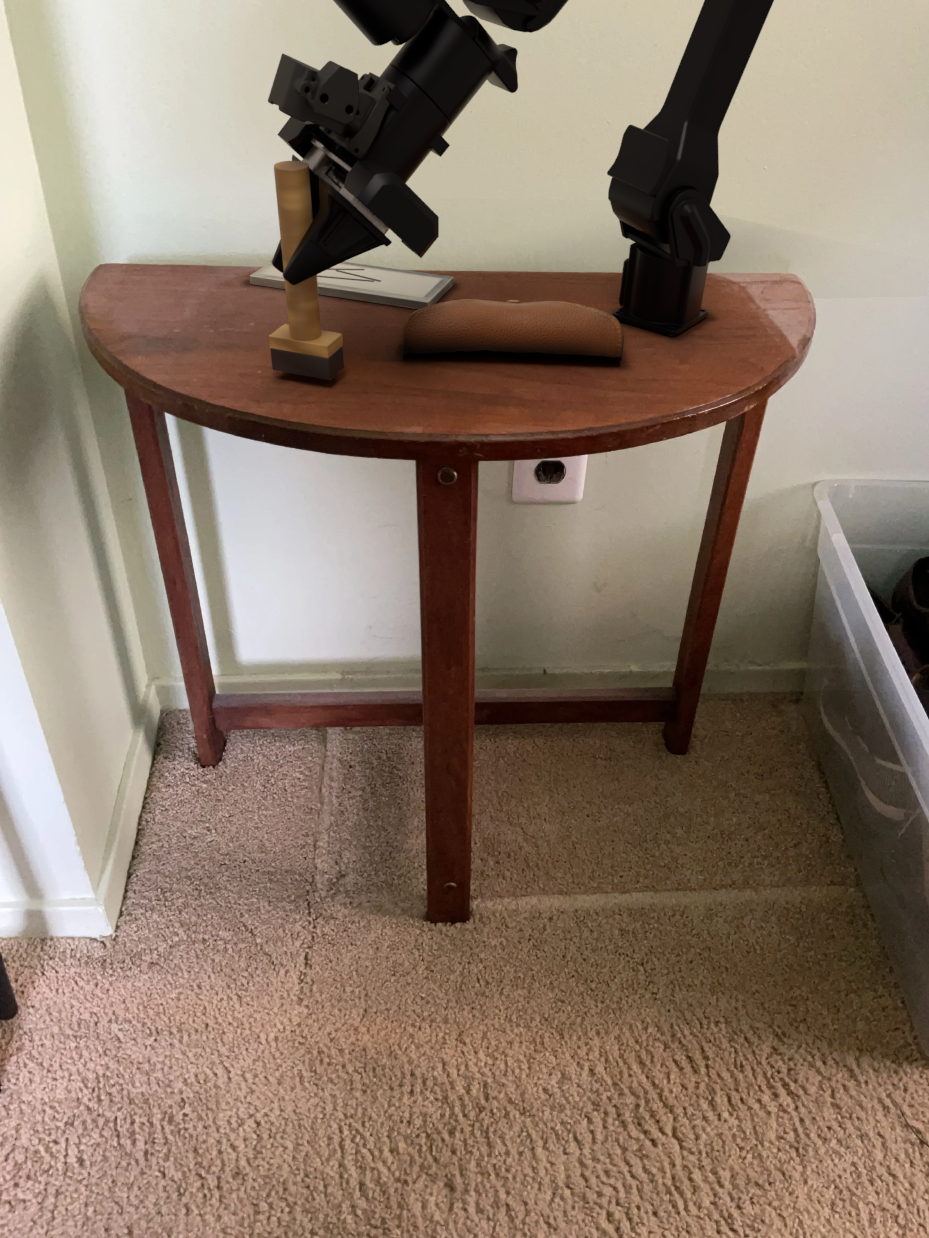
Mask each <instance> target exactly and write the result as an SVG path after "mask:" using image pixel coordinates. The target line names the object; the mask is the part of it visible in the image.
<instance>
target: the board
mask: <svg viewBox="0 0 929 1238" xmlns="http://www.w3.org/2000/svg"><path fill="white" fill-rule="evenodd" d="M249 281H250V285H256V286H264V287H269V288H276V289H283V290H285V280H284V277H283V273H281V272H280V271H279V270H277V269H276V268H275V267H274V266H273V265H272V260H270V261H269V262H268V263H267V264H265V265H263V266H262V267H261V268H259V269H258V270H256V271H255V272H253V273H251V274H250V275H249ZM317 283H318V295H322V296H328V297H334V298H335V297H336V298H340V299H341V298H342V299H349V300H355V301H362V302H367V303H368V302H369V303H375V304H380V305H388V306H394V307H401V308H409V309H415V310H418V309H421V308H425V307H428V306H431V305H434V304H437V302H438V301H439V300H440V299H441V298H443V296H444V295H445V294H446V293H447V292H449V290H450V289H451V288H452V287H453V286H454V276H451V275H441V274H436V273H427V272H420V271H414V270H407V269H406V270H405V269H399V268H393V267H386V266H385V267H384V266H378V265H371V264H365V263H358V262H351V261H344V262H342V263H340V264H337V265H335V266H333V267H331V268H329V269H327V270H325V271H323V272H321V273H319V274H317Z"/></svg>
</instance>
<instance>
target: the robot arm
mask: <svg viewBox="0 0 929 1238" xmlns="http://www.w3.org/2000/svg"><path fill="white" fill-rule="evenodd" d="M332 1H333V3H335V5H336V6H337V7H338V8H339V9H340V10H341V11H342V12H343V13H344V15H345V16H346V17H347V18H348V19H349V20H350V21H351V23H352V24H354V26H355V27H356V28H357V29H358V31H360V32H361V34H362V35H363V36H364V37H365V38H366V39H367V40H368V42H370V43H371V45H373V46H374V47H378V46H379V47H380V46H384V45H386V44H389V43H390V42H391V44H392V45H394V46H397V47H398V46H401V45H402V46H401V48H400V49H399V51H398V52H397V53H396V54H395V56H394V57H393V58H392V59H391V61H390V62H389V64H388V65H387V66H386V68H385V69H384V70H383V72H382V73H381V74H380V75H377V74H374V73H373V72H369V73H364V74H362V75H361V76H360V78H359V74H358V73H357V72H355V71H354V70H351V69H350V68H347V67H345V66H343V65H340V64H338V63H336V62H335V61H332V60H328V61H327V62H326V63H325V64H324V65H323V66H322V67H321V68H320V69H318V68H316V67H314V66H311V65H309V64H307V63H305V62H303V61H301V60H298V59H296V58H295V57H292V56H290V55H288V54H285V53H281V56H280V59H279V62H278V64H277V65H278V66H277V68H276V73H275V75H274V79H273V82H272V85H271V89H270V92H269V95H268V97H267V103H268V104H270V105H275V106H277V107H278V110H279V111H280V112H281V113H283V114H285V115H286V116H289V118H288V120H287V121H286V122H285V124H284V125H283V126H282V127H281V129H280V130H279V132H278V133H277V136H278V137H279V138H280V139H281V140H282V141H283V142H284V143H285V144H286V145H288V146H289V147H290V149H292V150H293V151H294V152H295V153H296V154H297V155H298V156H299V157H300V158H301V159H302V160H301V159H299V158H298V157H297V156H296V155H295V154H292V155H291V161H301V162H305V163H307V164H308V165H309V175H310V188H311V202H312V216H313V221H312V223H311V225H310V226H309V228H308V230H307V232H306V233H305V235H304V237H303V238H302V240H301V242H300V243H299V245H298V247H297V248H296V250H295V252H294V253H293V255H292V257H291V259H290V261H289V262H288V264H287V266H286V268H285V270H283V259H282V248H281V238H279V242H278V244H277V246H276V249H275V252H274V255H273V258H272V260H271V261H272V265H273V266H274V267H275V268H276V269H277V270H279V271H280V272H281V273H283V277H284V279H285V280H287V281H288V282H289V283H290V284H292V285H296V284H298V283H300V282H303V281H305V280H307V279H309V278H311V277H313V276H315V275H317V274H319V273H321V272H323V271H325V270H327V269H329V268H331V267H333V266H335V265H337V264H340V263H342V262H347V260H350V259H353V258H355V257H358V256H360V255H362V254H364V253H367V252H369V251H371V250H374V249H377V248H378V247H382V246H385V247H387V248H388V247H389V246H390V245H391V244H392V243H393V241H392V240H391V239H390V238H389V237H387V236H386V234H387V232H388V231H389V230H390V231H391V232H392V233H393V234H394V235H396V236H397V237H398V238H399V239H400V242H401V243H402V244H403V245H404V246H405V247H406V248H407V249H409V250H410V251H412V252H413V253H414V254H415V255H416V256H417V257H419V258H420V259H422V258H423V257H424V255H425V254H426V253H427V252H428V250H429V249H430V248H431V247H432V246H433V244H434V243H435V242H436V241H437V240H438V238H439V236H440V235H439V234H440V232H439V230H440V228H439V225H440V223H439V222H440V219H439V218H440V217H439V216H438V215H437V214H436V213H435V211H433V210H432V209H431V207H430V206H428V204H427V203H426V202H425V201H423V199H422V198H421V197H419V195H418V194H417V193H416V192H415V191H414V190H413V189H412V188H411V187H410V186H409V185H408V184H407V183H408V181H409V180H410V179H411V177H412V176H413V175H414V173H415V172H416V171H417V170H418V169H419V167H420V166H421V165H422V163H423V162H424V161H425V160H426V158H427V157H428V156H429V154H430V153H431V152H432V153H433V154H435V155H436V156H438V157H440V158H441V157H442V156H443V155H444V153H446V151H447V150H448V149H449V147H450V146H451V144H450V143H449V142H447V140H446V139H445V138H444V137H443V136H444V135H445V134H446V133H447V131H448V130H449V129H450V128H451V126H452V125H453V123H454V122H455V121H456V120H457V119H458V117H459V116H460V115H461V113H462V112H463V111H464V110H465V108H466V107H467V106H468V104H469V103H471V101H472V99H473V98H474V97H475V96H476V94H477V93H478V91H479V90H480V89H481V88H482V87H483V85H484V84H485V83H486V81H488V83H489V84H490V85H492V86H495V87H497V88H499V89H500V90H504V91H505V92H508V93H511V94H514V93H516V92H517V91H518V90H519V89H518V88H519V81H518V79H519V78H518V77H519V76H518V70H517V69H518V68H517V58H518V54H519V51H518V49H517V48H516V47H513V46H511V45H508V44H505V43H499V44H497V43H496V41H495V40H494V39H493V38H492V36H491V35H490V34H489V33H488V31H487V30H486V29H485V27H484V26H483V25H482V24H481V22H480V20H481V21H484V22H488V23H491V24H494V25H496V26H500V27H503V28H505V29H509V30H512V31H515V32H521V33H531V34H532V33H534V32H538V31H540V30H541V29H543V28H545V27H546V26H548V25H549V24H551V22H552V21H553V20H554V19H555V18H556V17H557V16H558V15H559V13H560V12H561V10H562V9H563V8H564V7H565V5H567V3H568V2H569V0H462V3H463V5H464V6H465V7H466V8H467V9H468V10H467V11H469V12H470V13H471V14H472V15H470V14H465V15H462V16H459V15H458V14H457V12H456V11H455V10H454V9H453V8H452V6H451V5H450V4H449V2H447V0H332ZM774 2H775V0H704V1H703V2H702V6H701V8H700V10H699V13H698V17H697V19H696V21H695V23H694V26H693V29H692V32H691V34H690V36H689V38H688V42H687V44H686V47H685V48H684V52H683V53H682V57H681V59H680V61H679V65H678V66H677V68H676V71H675V74H674V77H673V79H672V82H671V85H670V87H669V90H668V92H667V95H666V97H665V100H664V102H663V105H662V107H661V109H660V110H659V112H658V113H657V114H656V115H655V116H654V117H652V119H651V120H650V121H649V122H648V123H647V124H646V125H645V127H643V128H641V127H638V126H636V125H634V124H628V125H627V127H626V129H625V130H624V132H623V134H622V138H621V142H620V146H619V151H618V153H617V155H616V158H615V160H614V162H613V164H611V166H610V168H609V169H608V170H607V172H606V174H607V176H608V177H611V179H610V183H609V187H608V191H607V192H608V193H607V194H608V195H607V196H608V197H607V199H608V201H609V203H610V207H611V210H612V213H613V214H614V215H615V216H616V218H617V219H618V221H619V226H620V232H621V237H623V238H625V239H628V240H630V241H631V242H632V243H630V245H629V252H628V258H626V259H624V260H623V262H622V263H623V264H622V272H621V280H620V288H619V297H618V305H619V306H620V307H619V308H618V309H615V310H614V311H613V312H612V315H613V316H614V317H616V318H617V320H618V321H621V322H625V323H627V324H631V325H635V326H637V327H641V328H644V329H647V330H651V331H655V332H658V333H662V334H665V335H668V336H678V335H680V334H681V333H683V332H684V331H686V330H687V329H690V328H691V327H692V326H694V325H696V324H697V323H698V322H700V321H702V320H703V319H705V318H707V317H708V315H709V310H708V309H706V308H702V304H703V297H704V292H705V287H706V282H707V281H706V280H707V275H708V270H709V264H710V263H712V262H719V261H721V260H722V259H723V256H724V254H725V251H726V249H727V247H728V245H729V243H730V240H731V238H732V237H731V233H730V232H729V231H728V229H727V228H726V226H725V225H724V223H723V222H722V220H721V219H720V217H719V216H718V215H717V213H716V211H714V209H713V207H712V206H711V203H712V199H713V197H714V193H715V190H716V188H717V187H716V186H717V183H718V181H719V177H720V172H719V171H720V165H719V164H720V162H719V161H720V160H719V134H720V130H721V127H722V125H723V122H724V120H725V117H726V115H727V112H728V111H729V109H730V106H731V103H732V101H733V99H734V96H735V93H736V92H737V90H738V87H739V85H740V82H741V80H742V77H743V75H744V72H745V70H746V68H747V65H748V63H749V60H750V58H751V56H752V53H753V52H754V48H755V46H756V44H757V43H758V39H759V37H760V35H761V32H762V30H763V27H764V26H765V23H766V20H767V18H768V16H769V13H770V11H771V9H772V7H773V4H774ZM477 18H478V19H479V20H478V19H477Z"/></svg>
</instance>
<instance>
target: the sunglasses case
mask: <svg viewBox="0 0 929 1238" xmlns="http://www.w3.org/2000/svg"><path fill="white" fill-rule="evenodd" d="M623 331H624V330H623V328H622V324H621V322H620V320H618V319H617V318H616V317H614V316H613V314H611V313H610V312H607V311H604V310H601V309H597V308H594V307H592V306H588V305H584V304H581V303H575V302H570V301H569V302H568V301H560V300H542V301H541V300H540V301H528V302H521V301H520V300H518V299H508V300H506V301H496V300H491V299H490V300H489V299H480V298H479V299H478V298H477V299H476V298H462V299H453V300H448V301H444V302H443V301H442V302H438V303H435V304H434V305H431V306H428V307H425V308H421V309H415V310H414V311H413V312H412V313H411V314H410V315H408V316H407V319H406V322H405V324H404V331H403V340H402V357H403V356H405V355H408V353H409V354H435V353H455V352H459V351H461V352H465V353H468V352H477V351H489V352H503V353H518V354H519V353H540V354H541V353H542V354H547V355H578V356H599V357H608V358H617V361H619V362H620V363H622V359H623V353H624V352H623V351H624V342H625V339H624V332H623Z"/></svg>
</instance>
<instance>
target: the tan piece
mask: <svg viewBox="0 0 929 1238" xmlns="http://www.w3.org/2000/svg"><path fill="white" fill-rule="evenodd" d="M301 161H302V160H301ZM301 161H292V160H283V161H279V162H276V163H274V165H273V174H274V175H273V176H274V184H275V194H276V205H277V217H278V226H279V237H280V238H279V239H281V248H282V259H283V270H285V268H286V266H287V264H288V262H289V261H290V259H291V257H292V255H293V253H294V252H295V250H296V248H297V247H298V245H299V243H300V242H301V240H302V238H303V237H304V235H305V233H306V232H307V230H308V228H309V226H310V225H311V223H312V221H313V216H312V202H311V188H310V175H309V165H308V164H307V163H305V162H301ZM284 280H285V279H284ZM284 290H285V300H286V312H287V322H288V323H283V324H282V325H281V326H280V327H278V328H277V329H276V330H275V331H273V332H272V333H270V334H269V335H268V343H269V348H270V349H269V351H270V359H271V360H270V361H271V367H272V371H278V372H283V373H289V374H294V375H300V376H304V377H311V378H316V379H321V380H327V381H331V380H332V379H333V378H334V377H335V376H336V375H337V374H338V373H339V372H341V371H342V370H343V369H344V368H345V363H344V362H345V361H344V347H343V346H344V341H343V333H341V332H335V331H329V330H323V329H322V326H321V311H320V300H319V298H320V297H319V294H318V283H317V275H315V276H313V277H311V278H309V279H307V280H305V281H303V282H300V283H298V284H296V285H292V284H290V283H289V282H288V281H287V280H285V289H284Z"/></svg>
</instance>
